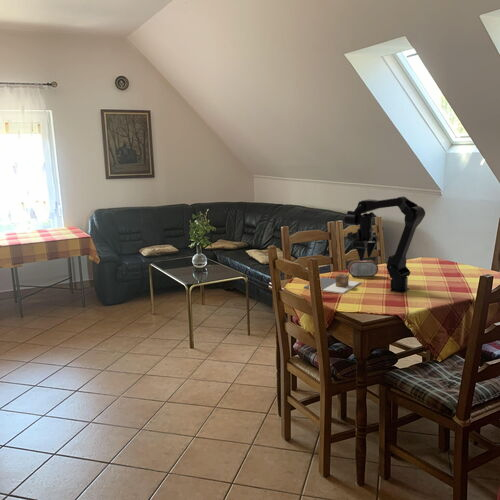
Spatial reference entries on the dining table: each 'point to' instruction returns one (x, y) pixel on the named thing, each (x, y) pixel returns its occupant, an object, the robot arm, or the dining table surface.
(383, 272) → the dining table surface
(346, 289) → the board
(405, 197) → the robot arm
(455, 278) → the dining table surface
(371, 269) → the tin
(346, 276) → the brown cylinder
